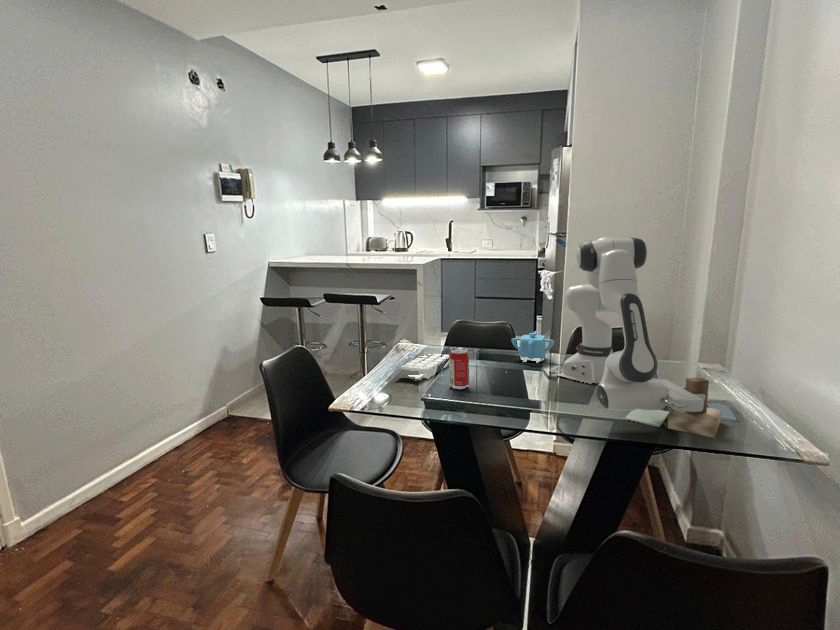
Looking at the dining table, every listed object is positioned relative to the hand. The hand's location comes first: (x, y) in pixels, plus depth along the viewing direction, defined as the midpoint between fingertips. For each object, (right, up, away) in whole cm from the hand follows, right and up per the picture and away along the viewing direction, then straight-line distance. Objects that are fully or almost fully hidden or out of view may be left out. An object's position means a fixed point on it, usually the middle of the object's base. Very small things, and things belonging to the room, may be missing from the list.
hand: (699, 393), depth 136 cm
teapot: (-29, +2, +84) cm, 89 cm away
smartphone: (+14, -9, +11) cm, 20 cm away
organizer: (-82, -3, +67) cm, 106 cm away
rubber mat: (-11, -9, +9) cm, 17 cm away
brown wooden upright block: (-1, -6, +1) cm, 6 cm away
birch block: (-1, -10, +1) cm, 10 cm away
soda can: (-68, -5, +43) cm, 81 cm away
